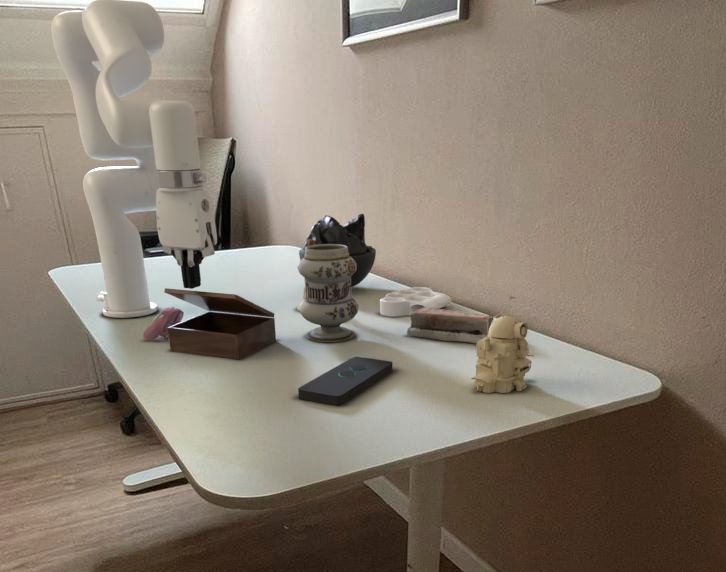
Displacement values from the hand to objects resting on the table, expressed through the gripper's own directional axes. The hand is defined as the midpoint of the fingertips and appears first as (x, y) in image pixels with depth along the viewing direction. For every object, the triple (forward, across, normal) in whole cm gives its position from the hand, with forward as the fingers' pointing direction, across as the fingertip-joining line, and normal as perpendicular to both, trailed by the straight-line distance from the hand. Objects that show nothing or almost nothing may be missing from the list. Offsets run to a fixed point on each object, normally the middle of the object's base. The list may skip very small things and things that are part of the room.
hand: (192, 286), depth 133 cm
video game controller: (+13, +14, -8) cm, 21 cm away
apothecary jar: (+13, -18, -20) cm, 30 cm away
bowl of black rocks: (+13, 0, -62) cm, 64 cm away
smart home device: (+13, -34, +6) cm, 37 cm away
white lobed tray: (+13, -26, -48) cm, 57 cm away
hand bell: (+13, -4, -40) cm, 43 cm away
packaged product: (+13, -42, -30) cm, 54 cm away
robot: (+12, -59, -2) cm, 61 cm away
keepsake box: (+13, -1, -6) cm, 14 cm away
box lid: (+5, -1, -7) cm, 8 cm away
